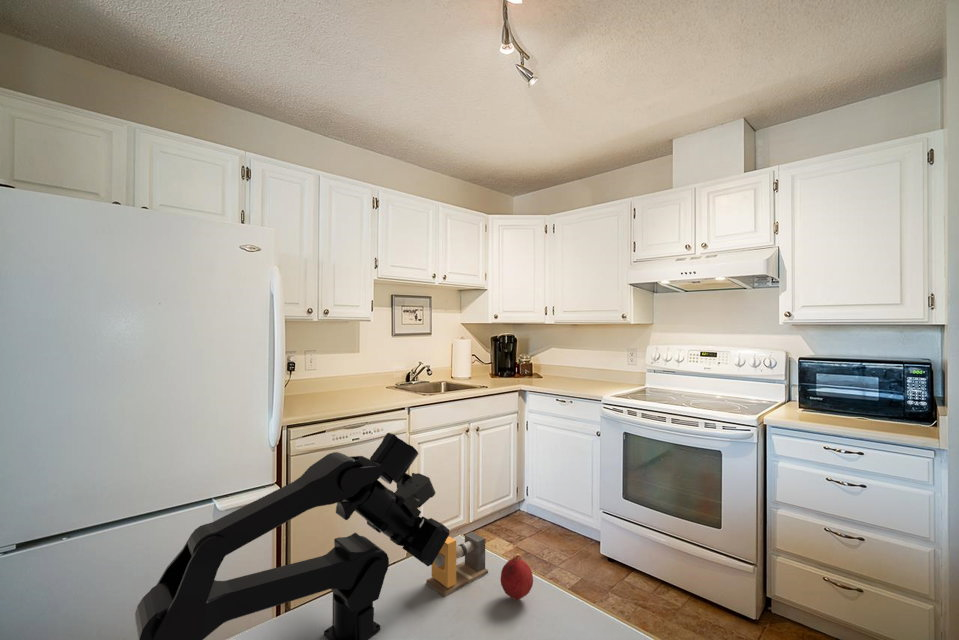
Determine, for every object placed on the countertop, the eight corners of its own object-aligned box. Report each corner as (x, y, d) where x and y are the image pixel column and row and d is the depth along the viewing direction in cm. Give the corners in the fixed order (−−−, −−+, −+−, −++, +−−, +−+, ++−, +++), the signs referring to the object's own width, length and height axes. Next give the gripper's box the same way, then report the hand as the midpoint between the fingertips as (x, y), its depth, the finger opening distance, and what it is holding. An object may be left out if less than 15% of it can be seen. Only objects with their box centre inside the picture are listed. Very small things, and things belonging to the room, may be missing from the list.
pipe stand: (444, 596, 77) (444, 560, 77) (426, 583, 81) (426, 548, 81) (488, 573, 84) (488, 540, 85) (469, 561, 88) (469, 530, 89)
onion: (517, 614, 72) (517, 567, 72) (493, 598, 76) (493, 553, 77) (539, 600, 76) (539, 555, 76) (516, 585, 80) (516, 543, 80)
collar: (447, 588, 78) (447, 544, 78) (431, 576, 82) (431, 534, 82) (456, 583, 79) (456, 540, 79) (439, 572, 83) (439, 531, 83)
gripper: (440, 477, 69) (489, 524, 76) (381, 453, 82) (427, 494, 90) (398, 543, 63) (455, 587, 70) (342, 505, 77) (395, 545, 84)
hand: (432, 548), depth 79 cm, fingers closed
